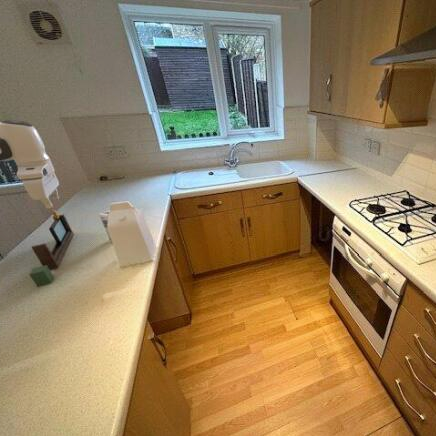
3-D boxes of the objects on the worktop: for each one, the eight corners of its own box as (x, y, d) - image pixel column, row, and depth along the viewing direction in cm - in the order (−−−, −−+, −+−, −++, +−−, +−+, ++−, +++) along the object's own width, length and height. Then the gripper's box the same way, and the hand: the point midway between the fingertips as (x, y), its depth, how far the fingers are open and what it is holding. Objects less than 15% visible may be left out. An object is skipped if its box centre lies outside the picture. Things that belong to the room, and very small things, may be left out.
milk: (156, 246, 113) (139, 195, 101) (152, 260, 103) (133, 206, 91) (126, 251, 109) (106, 199, 97) (120, 267, 100) (96, 210, 88)
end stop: (40, 280, 93) (32, 268, 90) (54, 276, 95) (46, 264, 92) (37, 286, 90) (29, 274, 87) (51, 283, 91) (43, 270, 89)
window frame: (64, 236, 122) (53, 216, 116) (74, 234, 124) (63, 214, 118) (45, 270, 98) (31, 247, 92) (58, 267, 100) (44, 244, 94)
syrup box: (109, 240, 118) (97, 214, 111) (119, 234, 123) (109, 209, 116) (118, 242, 117) (107, 215, 110) (128, 235, 122) (118, 210, 115)
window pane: (64, 233, 120) (52, 209, 114) (67, 232, 121) (55, 209, 115) (58, 245, 110) (44, 220, 104) (61, 244, 111) (47, 220, 105)
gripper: (34, 163, 94) (49, 196, 100) (14, 176, 78) (33, 214, 84) (55, 161, 97) (69, 194, 103) (40, 173, 81) (57, 211, 87)
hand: (53, 203), depth 93 cm, fingers open, 8 cm apart
